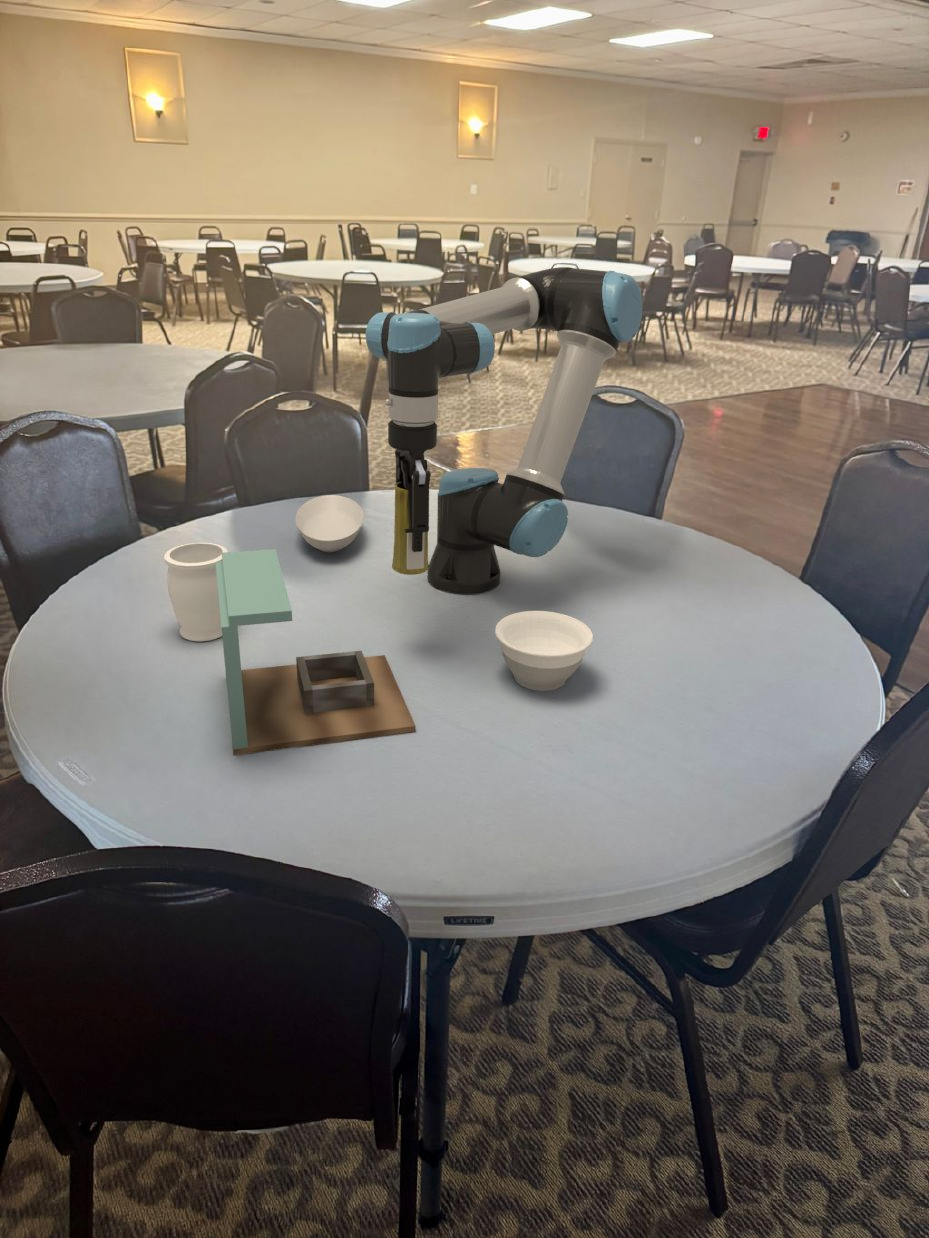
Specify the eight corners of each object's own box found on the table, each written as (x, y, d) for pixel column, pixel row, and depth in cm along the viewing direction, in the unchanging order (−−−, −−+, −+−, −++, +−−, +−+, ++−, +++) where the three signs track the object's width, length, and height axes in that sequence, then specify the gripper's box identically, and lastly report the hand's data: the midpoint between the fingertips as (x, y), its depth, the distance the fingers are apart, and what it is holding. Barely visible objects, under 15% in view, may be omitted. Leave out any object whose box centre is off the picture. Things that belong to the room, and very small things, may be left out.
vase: (414, 578, 136) (416, 493, 130) (384, 569, 139) (384, 486, 133) (435, 566, 141) (438, 484, 135) (405, 558, 144) (407, 477, 137)
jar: (218, 649, 144) (210, 568, 137) (162, 641, 146) (151, 560, 139) (244, 622, 153) (238, 545, 147) (192, 615, 155) (183, 538, 148)
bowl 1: (364, 567, 179) (364, 540, 176) (292, 567, 177) (291, 540, 174) (363, 519, 205) (363, 495, 203) (301, 519, 203) (300, 494, 201)
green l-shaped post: (282, 665, 138) (275, 549, 129) (298, 740, 119) (291, 610, 110) (225, 671, 135) (214, 553, 126) (233, 749, 117) (220, 616, 108)
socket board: (384, 660, 143) (384, 634, 141) (415, 731, 124) (415, 702, 122) (226, 676, 136) (223, 649, 134) (233, 755, 117) (230, 725, 115)
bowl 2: (523, 711, 131) (527, 663, 127) (475, 664, 143) (477, 619, 139) (607, 690, 137) (613, 644, 134) (553, 647, 150) (558, 604, 146)
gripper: (376, 407, 136) (377, 541, 146) (402, 437, 120) (401, 585, 130) (421, 406, 138) (419, 538, 148) (453, 435, 122) (447, 581, 132)
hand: (410, 560), depth 139 cm, fingers closed on vase, 6 cm apart
